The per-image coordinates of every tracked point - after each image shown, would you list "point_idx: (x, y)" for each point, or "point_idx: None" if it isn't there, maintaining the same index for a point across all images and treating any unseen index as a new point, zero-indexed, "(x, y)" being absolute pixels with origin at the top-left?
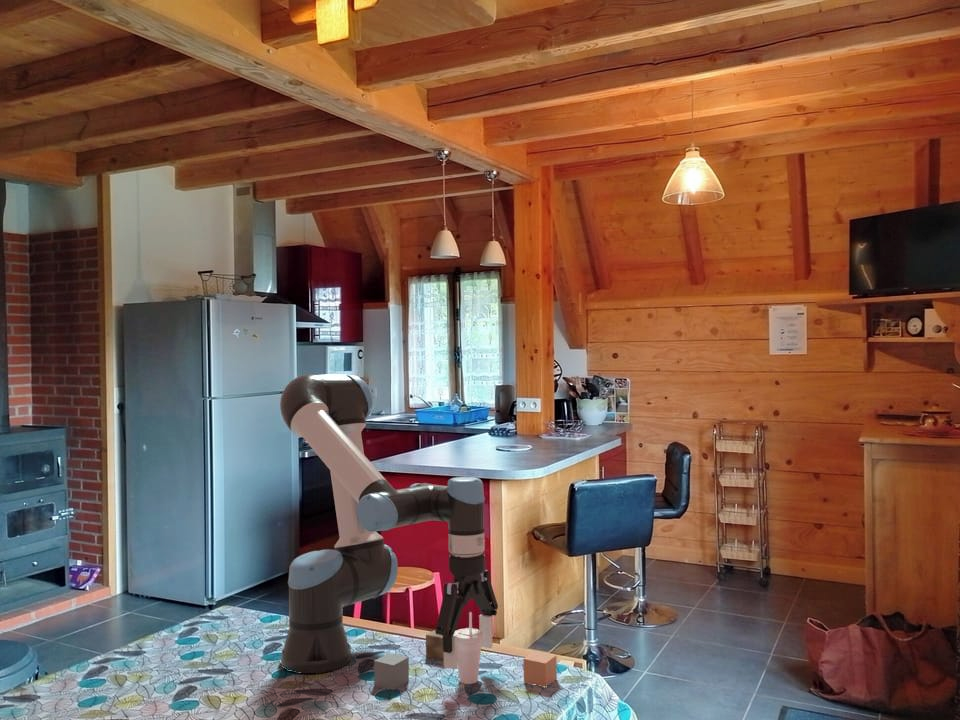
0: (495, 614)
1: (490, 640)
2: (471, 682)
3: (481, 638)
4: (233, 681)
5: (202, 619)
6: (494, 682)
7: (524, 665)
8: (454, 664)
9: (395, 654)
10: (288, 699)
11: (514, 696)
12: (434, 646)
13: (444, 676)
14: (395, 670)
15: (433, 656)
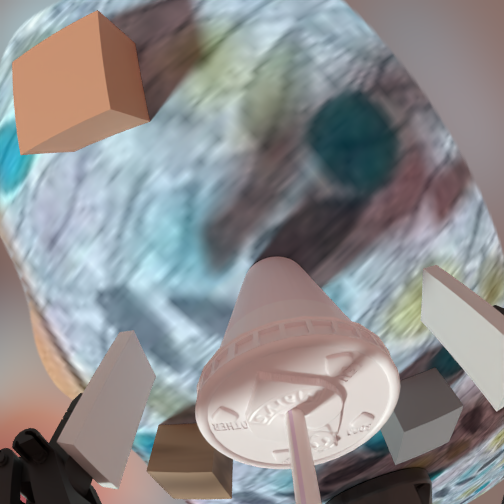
0: (29, 433)
1: (121, 351)
2: (292, 261)
3: (266, 332)
4: (463, 471)
5: None
6: (222, 205)
7: (123, 108)
8: (448, 275)
9: (399, 455)
10: (499, 412)
11: (266, 65)
12: (224, 464)
13: None
14: (449, 398)
15: None
